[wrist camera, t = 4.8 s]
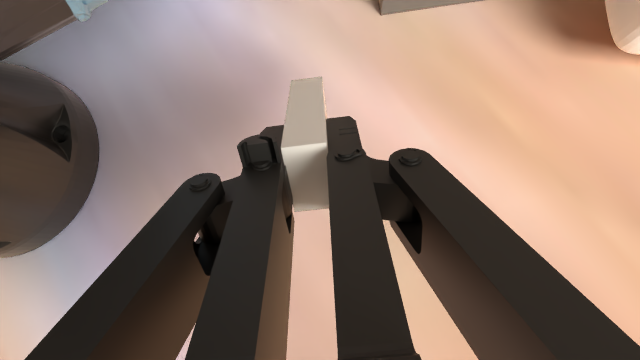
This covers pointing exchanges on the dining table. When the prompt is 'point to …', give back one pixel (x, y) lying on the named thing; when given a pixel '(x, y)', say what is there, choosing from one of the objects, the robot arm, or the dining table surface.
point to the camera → (624, 24)
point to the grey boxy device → (414, 5)
